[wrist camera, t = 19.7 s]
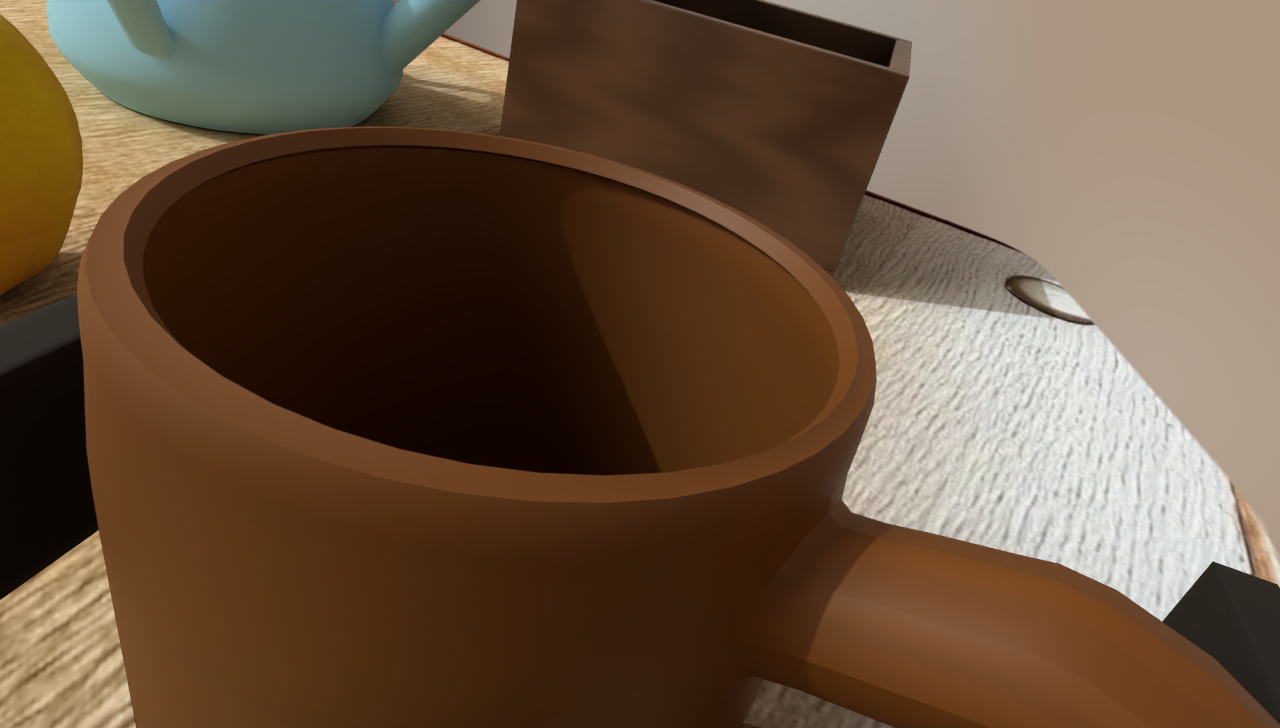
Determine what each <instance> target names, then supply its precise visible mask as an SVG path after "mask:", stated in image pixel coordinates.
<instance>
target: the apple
mask: <svg viewBox="0 0 1280 728" xmlns="http://www.w3.org/2000/svg"><path fill="white" fill-rule="evenodd" d="M82 174H83V156H82V140H81V136H80V131H79V126H78V122H77V118H76V115H75V112H74V110H73V107H72V105H71V103H70V100H69V98H68V96H67V94H66V92H65V90H64V88H63V87H62V85H61V84H60V82H59V81H58V79H57V77H56V76H55V74H54V73H53V71H52V70H51V69H50V67H49V66H48V65H47V63H46V62H45V60H44V59H43V57H42V56H41V55H40V54H39V53H38V52H37V50H36V49H35V48H34V47H33V46H32V45H31V43H30V42H29V41H28V40H27V39H26V38H25V36H24V35H23V34H22V33H21V32H20V31H19V30H18V29H17V28H16V27H15V26H14V25H12V24H11V23H10V22H9V21H8V20H6V19H5V18H4V17H3V16H2V15H0V296H1V295H2V294H4V293H6V292H7V291H8V290H10V289H11V288H13V287H15V286H16V285H18V284H20V283H21V282H23V281H25V280H27V279H29V278H31V277H34V276H36V275H38V274H39V273H40V272H41V271H43V270H44V269H46V268H47V267H48V266H49V265H50V264H51V263H52V262H53V260H54V259H55V258H56V257H57V255H58V253H59V251H60V249H61V247H62V245H63V242H64V240H65V237H66V234H67V232H68V229H69V226H70V223H71V219H72V216H73V213H74V209H75V205H76V201H77V198H78V194H79V192H80V189H81V182H82Z"/></svg>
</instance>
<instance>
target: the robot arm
mask: <svg viewBox="0 0 1280 728" xmlns="http://www.w3.org/2000/svg"><path fill="white" fill-rule="evenodd" d="M98 530H99V528H98V522H97V516H96V511H95V505H94V499H93V493H92V486H91V479H90V471H89V464H88V457H87V447H86V422H85V394H84V362H83V353H82V345H81V336H80V328H79V319H78V301H77V294H75V295H72V296H70V297H68V298H65V299H63V300H60V301H58V302H55V303H53V304H50V305H48V306H46V307H43V308H41V309H38V310H36V311H33V312H31V313H29V314H26V315H24V316H21V317H19V318H16V319H14V320H12V321H9V322H7V323H4V324H2V325H0V600H1V599H2V598H4V597H5V596H7V595H8V594H9V593H11V592H12V591H14V590H15V589H16V588H18V587H19V586H21V585H22V584H23V583H25V582H26V581H28V580H29V579H31V578H32V577H33V576H35V575H36V574H38V573H39V572H40V571H42V570H43V569H45V568H46V567H47V566H49V565H50V564H52V563H53V562H54V561H56V560H57V559H59V558H60V557H61V556H63V555H64V554H66V553H67V552H68V551H70V550H71V549H73V548H74V547H76V546H77V545H78V544H80V543H81V542H83V541H84V540H85V539H87V538H88V537H90V536H91V535H92V534H94V533H95V532H97V531H98ZM1163 623H1164V624H1166V625H1167V626H1169V627H1170V628H1172V629H1173V630H1174V631H1176V632H1177V633H1179V634H1180V635H1182V636H1183V637H1185V638H1186V639H1187V640H1189V641H1190V642H1192V643H1193V644H1195V645H1196V646H1197V647H1199V648H1200V649H1202V650H1203V651H1205V652H1206V653H1207V654H1209V655H1210V656H1212V657H1213V658H1215V659H1216V660H1217V661H1218V662H1219V663H1220V664H1221V666H1222V667H1223V668H1224V669H1225V670H1226V671H1227V672H1228V673H1229V674H1230V675H1231V676H1232V677H1233V678H1234V679H1235V680H1236V681H1237V682H1238V683H1239V684H1240V685H1241V686H1242V687H1243V688H1244V689H1245V690H1246V691H1247V692H1248V693H1249V694H1250V695H1251V696H1252V697H1253V698H1254V699H1255V700H1256V701H1257V702H1258V703H1259V704H1260V705H1261V706H1262V707H1263V708H1264V709H1265V710H1266V711H1267V712H1268V713H1269V714H1270V715H1271V716H1272V717H1273V718H1274V719H1275V720H1276V721H1277V722H1278V723H1279V724H1280V588H1279V586H1278V585H1277V584H1274V583H1272V582H1269V581H1266V580H1263V579H1260V578H1258V577H1255V576H1252V575H1249V574H1247V573H1244V572H1241V571H1238V570H1235V569H1233V568H1230V567H1227V566H1224V565H1221V564H1219V563H1216V562H1212V563H1211V564H1210V565H1209V567H1208V568H1207V569H1206V570H1205V571H1204V573H1203V574H1202V575H1201V576H1200V577H1199V579H1198V580H1197V581H1196V582H1195V583H1194V585H1193V586H1192V587H1191V588H1190V589H1189V591H1188V592H1187V593H1186V594H1185V595H1184V596H1183V598H1182V599H1181V600H1180V601H1179V602H1178V604H1177V605H1176V606H1175V607H1174V608H1173V610H1172V611H1171V612H1170V613H1169V614H1168V616H1167V617H1166V618H1165V619H1164V620H1163Z"/></svg>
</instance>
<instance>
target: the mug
mask: <svg viewBox="0 0 1280 728" xmlns="http://www.w3.org/2000/svg"><path fill="white" fill-rule="evenodd" d="M77 301H78V319H79V328H80V336H81V345H82V353H83V362H84V394H85V422H86V447H87V457H88V464H89V471H90V479H91V486H92V493H93V499H94V505H95V511H96V516H97V522H98V528H99V533H100V539H101V544H102V549H103V555H104V560H105V565H106V570H107V576H108V581H109V586H110V591H111V597H112V602H113V607H114V612H115V618H116V623H117V628H118V634H119V639H120V644H121V649H122V655H123V660H124V665H125V670H126V676H127V681H128V686H129V691H130V697H131V702H132V707H133V712H134V718H135V723H136V728H760V727H756V726H752V725H749V724H742V723H743V721H744V719H745V717H746V715H747V713H748V711H749V709H750V707H751V705H752V703H753V701H754V699H755V697H756V695H757V693H758V690H759V688H760V686H761V684H762V682H763V680H764V679H765V680H768V681H771V682H775V683H778V684H781V685H785V686H788V687H791V688H795V689H798V690H800V691H803V692H805V693H808V694H810V695H813V696H816V697H818V698H821V699H823V700H826V701H828V702H831V703H834V704H836V705H839V706H841V707H844V708H846V709H849V710H852V711H854V712H857V713H859V714H862V715H864V716H867V717H870V718H872V719H875V720H877V721H880V722H882V723H885V724H888V725H890V726H893V727H895V728H1280V724H1279V723H1278V722H1277V721H1276V720H1275V719H1274V718H1273V717H1272V716H1271V715H1270V714H1269V713H1268V712H1267V711H1266V710H1265V709H1264V708H1263V707H1262V706H1261V705H1260V704H1259V703H1258V702H1257V701H1256V700H1255V699H1254V698H1253V697H1252V696H1251V695H1250V694H1249V693H1248V692H1247V691H1246V690H1245V689H1244V688H1243V687H1242V686H1241V685H1240V684H1239V683H1238V682H1237V681H1236V680H1235V679H1234V678H1233V677H1232V676H1231V675H1230V674H1229V673H1228V672H1227V671H1226V670H1225V669H1224V668H1223V667H1222V666H1221V664H1220V663H1219V662H1218V661H1217V660H1216V659H1215V658H1213V657H1212V656H1210V655H1209V654H1207V653H1206V652H1205V651H1203V650H1202V649H1200V648H1199V647H1197V646H1196V645H1195V644H1193V643H1192V642H1190V641H1189V640H1187V639H1186V638H1185V637H1183V636H1182V635H1180V634H1179V633H1177V632H1176V631H1174V630H1173V629H1172V628H1170V627H1169V626H1167V625H1166V624H1164V623H1163V622H1162V621H1160V620H1159V619H1157V618H1156V617H1154V616H1153V615H1152V614H1150V613H1149V612H1147V611H1146V610H1144V609H1143V608H1142V607H1140V606H1139V605H1137V604H1136V603H1134V602H1133V601H1132V600H1130V599H1129V598H1127V597H1126V596H1124V595H1123V594H1122V593H1120V592H1119V591H1117V590H1115V589H1113V588H1111V587H1109V586H1107V585H1104V584H1102V583H1100V582H1098V581H1095V580H1093V579H1091V578H1089V577H1087V576H1084V575H1082V574H1080V573H1078V572H1076V571H1074V570H1071V569H1069V568H1067V567H1065V566H1063V565H1061V564H1058V563H1053V562H1049V561H1045V560H1040V559H1036V558H1031V557H1027V556H1022V555H1018V554H1014V553H1010V552H1006V551H1002V550H998V549H994V548H989V547H985V546H981V545H977V544H973V543H969V542H965V541H961V540H957V539H953V538H949V537H945V536H940V535H936V534H932V533H928V532H923V531H919V530H914V529H909V528H905V527H900V526H896V525H891V524H887V523H883V522H880V521H877V520H874V519H871V518H868V517H864V516H861V515H858V514H855V513H852V512H851V511H850V510H849V509H848V507H847V506H846V505H845V503H844V502H843V501H842V495H843V491H844V487H845V482H846V478H847V474H848V471H849V468H850V466H851V463H852V461H853V458H854V456H855V454H856V451H857V448H858V446H859V443H860V441H861V438H862V435H863V433H864V430H865V427H866V425H867V422H868V419H869V416H870V414H871V411H872V408H873V405H874V398H875V389H876V381H877V380H876V362H875V356H874V349H873V343H872V339H871V336H870V334H869V332H868V329H867V327H866V324H865V322H864V319H863V317H862V316H861V314H860V313H859V311H858V310H857V308H856V306H855V305H854V303H853V302H852V300H851V299H850V297H849V296H848V295H847V294H846V293H845V291H844V290H843V289H842V288H841V287H840V286H839V284H838V283H837V282H836V281H835V280H834V279H833V277H831V276H830V275H829V274H828V273H827V272H826V271H825V270H824V269H823V268H822V267H821V266H820V265H819V264H817V263H816V262H815V261H814V260H813V259H812V258H811V257H809V256H808V255H807V254H805V253H804V252H803V251H802V250H800V249H799V248H798V247H796V246H795V245H794V244H792V243H791V242H790V241H788V240H787V239H785V238H784V237H782V236H781V235H779V234H778V233H776V232H774V231H773V230H771V229H770V228H768V227H767V226H765V225H763V224H762V223H760V222H758V221H756V220H755V219H753V218H751V217H749V216H748V215H746V214H744V213H742V212H740V211H739V210H737V209H735V208H732V207H730V206H728V205H726V204H724V203H722V202H720V201H718V200H716V199H714V198H712V197H710V196H708V195H705V194H703V193H701V192H698V191H696V190H694V189H691V188H689V187H687V186H684V185H682V184H679V183H677V182H674V181H671V180H668V179H666V178H663V177H660V176H658V175H655V174H652V173H650V172H646V171H643V170H640V169H637V168H634V167H631V166H628V165H625V164H622V163H619V162H615V161H611V160H608V159H604V158H601V157H597V156H593V155H590V154H586V153H582V152H578V151H573V150H569V149H565V148H561V147H556V146H552V145H547V144H541V143H536V142H531V141H526V140H521V139H515V138H508V137H501V136H495V135H488V134H481V133H472V132H463V131H454V130H443V129H429V128H415V127H379V126H376V127H337V128H322V129H308V130H299V131H292V132H284V133H276V134H269V135H264V136H259V137H254V138H249V139H244V140H238V141H234V142H230V143H227V144H223V145H220V146H216V147H212V148H209V149H205V150H202V151H199V152H197V153H194V154H191V155H189V156H186V157H184V158H181V159H178V160H176V161H173V162H171V163H169V164H167V165H165V166H163V167H161V168H159V169H157V170H156V171H154V172H152V173H150V174H148V175H146V176H144V177H143V178H141V179H140V180H139V181H137V182H136V183H135V184H133V185H132V186H131V187H129V188H128V189H127V190H125V191H124V192H123V193H121V194H120V195H119V196H118V197H117V198H116V199H115V200H114V202H113V203H112V204H111V205H110V206H109V207H108V208H107V210H106V211H105V212H104V213H103V214H102V215H101V216H100V219H99V221H98V223H97V225H96V227H95V229H94V231H93V233H92V235H91V237H90V239H89V241H88V243H87V246H86V248H85V250H84V252H83V254H82V256H81V259H80V266H79V274H78V282H77Z"/></svg>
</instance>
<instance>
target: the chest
mask: <svg viewBox="0 0 1280 728" xmlns="http://www.w3.org/2000/svg"><path fill="white" fill-rule="evenodd" d="M911 48H912V42H910V41H907V40H904V39H900V38H897V37H893V36H890V35H886V34H882V33H879V32H875V31H872V30H868V29H864V28H861V27H857V26H854V25H850V24H846V23H843V22H839V21H836V20H832V19H828V18H824V17H821V16H818V15H814V14H810V13H807V12H803V11H800V10H796V9H792V8H788V7H785V6H782V5H778V4H774V3H771V2H767V1H764V0H517V5H516V12H515V20H514V29H513V36H512V44H511V52H510V59H509V67H508V75H507V83H506V91H505V99H504V107H503V115H502V123H501V131H500V136H501V137H508V138H515V139H521V140H526V141H531V142H536V143H541V144H547V145H552V146H556V147H561V148H565V149H569V150H573V151H578V152H582V153H586V154H590V155H593V156H597V157H601V158H604V159H608V160H611V161H615V162H619V163H622V164H625V165H628V166H631V167H634V168H637V169H640V170H643V171H646V172H650V173H652V174H655V175H658V176H660V177H663V178H666V179H668V180H671V181H674V182H677V183H679V184H682V185H684V186H687V187H689V188H691V189H694V190H696V191H698V192H701V193H703V194H705V195H708V196H710V197H712V198H714V199H716V200H718V201H720V202H722V203H724V204H726V205H728V206H730V207H732V208H735V209H737V210H739V211H740V212H742V213H744V214H746V215H748V216H749V217H751V218H753V219H755V220H756V221H758V222H760V223H762V224H763V225H765V226H767V227H768V228H770V229H771V230H773V231H774V232H776V233H778V234H779V235H781V236H782V237H784V238H785V239H787V240H788V241H790V242H791V243H792V244H794V245H795V246H796V247H798V248H799V249H800V250H802V251H803V252H804V253H805V254H807V255H808V256H809V257H811V258H812V259H813V260H814V261H815V262H816V263H817V264H819V265H820V266H821V267H822V268H823V269H824V270H825V271H826V272H827V273H828V274H829V275H830V276H831V277H833V275H834V272H835V270H836V267H837V264H838V262H839V259H840V257H841V254H842V251H843V249H844V246H845V244H846V241H847V238H848V236H849V233H850V231H851V228H852V225H853V223H854V220H855V218H856V215H857V212H858V210H859V207H860V205H861V202H862V199H863V197H864V194H865V192H866V189H867V186H868V184H869V181H870V179H871V176H872V173H873V171H874V168H875V166H876V163H877V160H878V158H879V155H880V153H881V150H882V147H883V144H884V142H885V140H886V137H887V134H888V132H889V129H890V126H891V124H892V121H893V119H894V116H895V114H896V111H897V108H898V105H899V103H900V100H901V98H902V95H903V92H904V90H905V87H906V85H907V82H908V80H909V72H910V59H911Z"/></svg>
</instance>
